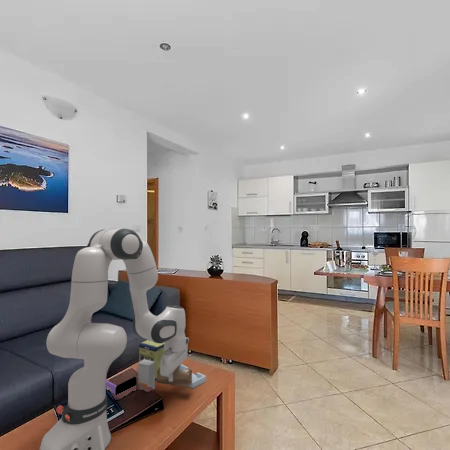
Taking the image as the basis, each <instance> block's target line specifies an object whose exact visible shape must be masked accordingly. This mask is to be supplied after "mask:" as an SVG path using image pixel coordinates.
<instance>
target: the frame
mask: <svg viewBox="0 0 450 450" xmlns="http://www.w3.org/2000/svg"><path fill="white" fill-rule="evenodd" d="M192 373H193V370H192V369H189V368H188V369H180V368H176V369H175V370H174V371H173V376H174V380H173V382H169V377H165V376H161V375H160V368H159V369H158V370H157V380H156V383H157V384H162V385H169V386H176V387H177V386H178V387H182V388H183V387H184V388H190V387H189V385H190V384H191V383H192Z"/></svg>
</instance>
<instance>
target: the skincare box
mask: <svg viewBox="0 0 450 450" xmlns="http://www.w3.org/2000/svg"><path fill="white" fill-rule="evenodd" d="M137 367H138V368H137V369H138V370H137V375H138V377H137V385H138V384H141V385H144V386H146V387H152V388H153V390H155V389H156V385H155V384H156V381H155V362H153V361H150V360H146V359H144V360H142V361H141V362H138V363H137Z"/></svg>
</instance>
